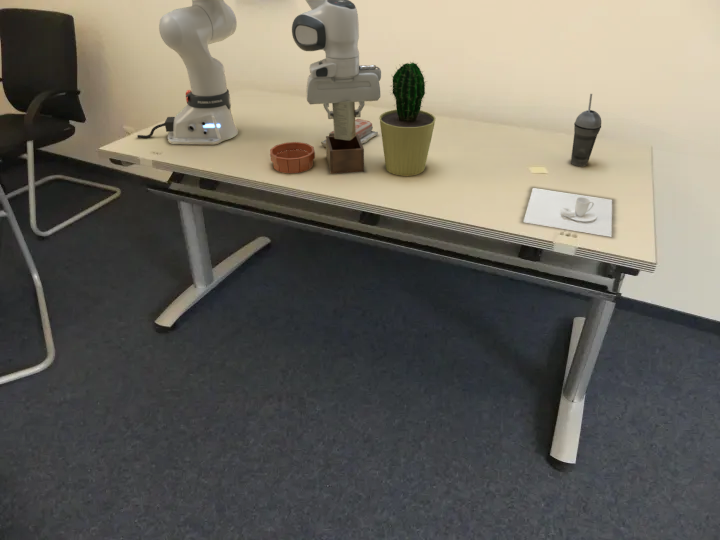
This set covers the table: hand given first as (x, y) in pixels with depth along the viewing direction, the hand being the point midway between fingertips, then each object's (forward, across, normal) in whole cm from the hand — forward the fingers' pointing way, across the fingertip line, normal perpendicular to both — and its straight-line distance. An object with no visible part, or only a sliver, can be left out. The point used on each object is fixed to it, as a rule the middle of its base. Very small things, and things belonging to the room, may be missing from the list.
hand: (344, 117), depth 156 cm
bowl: (+14, +15, -2) cm, 21 cm away
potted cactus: (+14, -17, +5) cm, 23 cm away
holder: (+14, 0, 0) cm, 14 cm away
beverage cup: (+14, -68, +10) cm, 70 cm away
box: (+6, 0, 0) cm, 6 cm away
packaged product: (+14, -4, -18) cm, 23 cm away
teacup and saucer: (+15, -52, +37) cm, 65 cm away
